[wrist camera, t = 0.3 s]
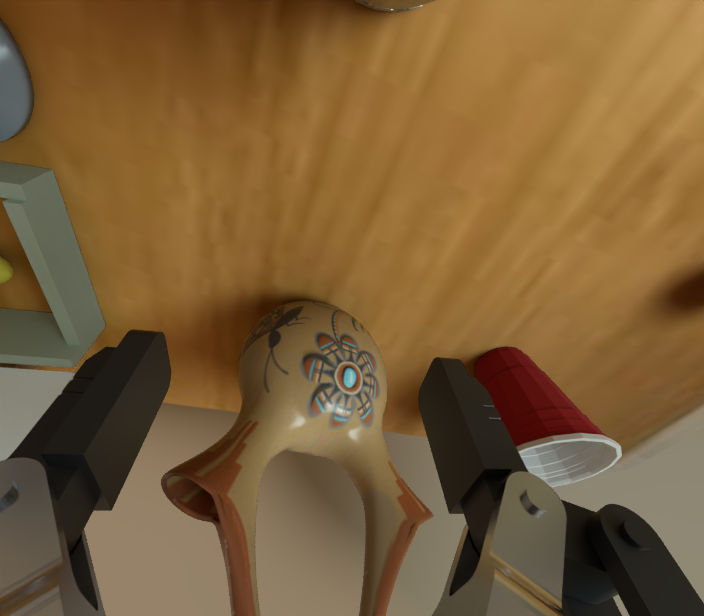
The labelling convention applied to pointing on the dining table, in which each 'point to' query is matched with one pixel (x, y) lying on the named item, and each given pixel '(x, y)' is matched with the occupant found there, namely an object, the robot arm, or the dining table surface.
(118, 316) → the dining table surface
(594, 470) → the plastic cup
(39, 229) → the frame
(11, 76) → the saucer
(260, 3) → the dining table surface
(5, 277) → the yellow oblong lump
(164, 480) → the ceramic vessel
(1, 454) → the lid
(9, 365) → the prop stake
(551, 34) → the dining table surface
